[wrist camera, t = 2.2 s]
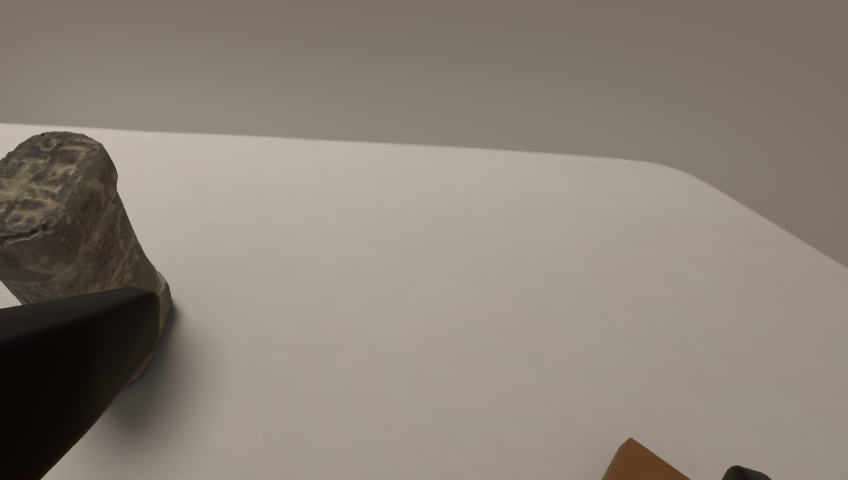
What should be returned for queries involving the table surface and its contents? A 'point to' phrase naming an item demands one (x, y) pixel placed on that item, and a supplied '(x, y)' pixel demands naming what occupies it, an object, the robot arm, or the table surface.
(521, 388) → the table surface
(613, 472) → the grid board
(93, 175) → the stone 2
